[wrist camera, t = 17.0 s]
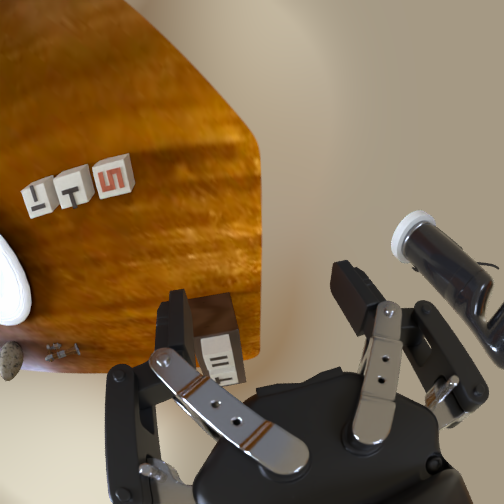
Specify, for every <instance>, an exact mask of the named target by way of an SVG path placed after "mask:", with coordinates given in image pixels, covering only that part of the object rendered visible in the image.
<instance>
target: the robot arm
mask: <svg viewBox="0 0 504 504" xmlns="http://www.w3.org/2000/svg"><path fill="white" fill-rule="evenodd" d="M401 251H402V255H403V256H404V257H405V258H406V259H407V260H408V261H409V262H410V263H411V264H412V265H413V266H414V267H415V268H414V267H412V268H413V269H414V270H415V271H417V272H420V273H421V274H422V275H423V276H424V277H425V278H426V279H427V280H428V281H429V283H430V284H431V285H432V286H433V287H434V288H435V289H436V290H437V291H438V292H439V293H440V294H441V296H442V297H443V298H444V299H445V300H446V301H447V302H448V304H449V305H450V306H451V307H452V308H453V309H454V310H455V312H456V313H457V314H458V315H459V316H460V317H461V318H462V320H463V321H464V322H465V323H466V325H467V326H468V327H469V328H470V330H471V331H472V332H473V334H474V335H475V337H476V338H477V340H478V341H479V343H480V344H481V346H482V347H483V349H484V350H485V352H486V353H487V355H488V356H489V358H490V359H491V361H492V362H493V363H494V364H495V365H496V366H497V367H498V368H499V369H501V370H504V302H503V303H502V305H501V306H500V307H499V309H498V310H497V311H496V313H495V314H494V315H493V316H492V318H491V319H490V320H489V321H488V322H487V321H486V311H487V306H488V303H489V300H490V297H491V294H492V291H493V288H494V280H493V278H492V277H491V276H490V275H489V274H488V273H487V272H486V271H485V270H484V269H483V268H482V267H481V266H480V265H487V266H492V267H495V268H497V269H499V267H497V266H496V265H493V264H488V263H481V262H475V261H474V260H473V259H472V258H471V257H470V256H469V255H468V254H466V253H465V252H464V251H463V249H462V247H460V246H459V245H458V244H457V243H456V242H454V241H453V240H452V239H451V238H450V237H448V236H447V235H446V234H445V233H443V232H442V231H441V230H440V229H439V228H437V227H436V226H435V225H433V224H431V223H430V222H429V221H426V220H423V221H420V222H418V223H416V224H415V225H414V226H413V227H412V228H411V229H410V230H409V231H408V232H407V234H406V236H405V238H404V240H403V243H402V248H401ZM330 289H331V292H332V295H333V296H334V298H335V300H336V301H337V303H338V305H339V306H340V308H341V310H342V311H343V313H344V315H345V316H346V318H347V320H348V321H349V323H350V325H351V327H352V328H353V330H354V332H355V333H356V335H357V337H358V336H361V335H364V334H365V336H366V340H365V343H364V348H363V352H362V356H361V361H360V364H359V368H358V371H357V373H354V372H343V371H342V369H341V367H337V368H334V369H331V370H327V371H324V372H321V373H319V374H317V375H316V376H314V377H312V378H310V379H308V380H306V381H304V382H302V383H288V384H286V383H285V384H274V385H269V386H264V387H260V388H256V392H257V394H255V395H253V396H251V397H250V398H248V399H247V400H245V401H244V402H243V403H242V402H241V401H239V400H238V399H237V398H235V397H234V396H233V395H231V394H230V393H229V392H228V391H226V390H225V389H224V388H222V387H221V386H220V385H219V384H218V383H216V382H215V381H214V380H213V379H212V378H210V377H209V376H207V375H204V376H203V375H201V374H200V373H199V372H198V371H196V363H195V351H194V337H193V321H192V314H191V310H190V306H189V303H188V300H187V296H186V293H185V290H184V289H179V290H173V291H170V294H169V301H167V302H162V303H161V305H160V306H159V308H158V310H157V322H156V325H157V326H156V337H155V351H154V352H153V353H152V354H151V356H150V358H149V360H148V361H147V362H145V363H143V364H141V365H138V366H136V367H133V368H131V367H130V366H129V365H126V364H118V365H115V366H114V367H112V368H111V369H110V370H109V372H108V374H107V380H106V397H105V456H106V472H107V483H108V493H109V498H110V500H111V502H112V503H113V504H473V502H472V500H471V497H470V495H469V492H468V490H467V488H466V485H465V483H464V481H463V478H462V476H461V475H460V473H459V472H458V471H457V470H456V469H455V468H453V467H452V466H451V465H450V464H449V463H448V462H447V461H446V460H445V459H444V458H443V456H442V454H441V451H440V447H439V432H440V431H441V430H443V429H445V428H453V427H455V426H456V425H458V424H459V423H460V422H462V421H463V420H464V419H465V418H467V417H468V416H469V415H470V414H471V413H473V412H474V411H475V410H476V409H477V408H479V407H480V406H481V405H482V404H483V403H484V402H485V401H486V400H487V398H488V396H489V389H488V386H487V384H486V382H485V381H484V379H483V377H482V375H481V374H480V372H479V370H478V369H477V367H476V365H475V364H474V362H473V361H472V359H471V357H470V356H469V354H468V353H467V351H466V350H465V348H464V347H463V345H462V344H461V342H460V341H459V339H458V338H457V336H456V335H455V333H454V332H453V330H452V329H451V328H450V326H449V325H448V323H447V322H446V321H445V319H444V318H443V317H442V315H441V314H440V312H439V311H438V310H437V309H436V307H435V306H434V305H433V304H432V303H431V302H428V301H425V300H421V301H418V302H417V303H416V304H415V306H414V308H400V306H399V305H397V304H396V303H394V302H392V301H386V299H385V298H384V297H383V295H382V294H381V293H380V292H379V290H378V289H377V288H376V286H375V285H374V284H373V283H372V281H371V280H370V279H369V277H368V276H367V275H366V274H365V272H363V271H362V270H360V269H359V268H357V267H355V268H353V266H352V265H351V264H350V262H349V261H348V260H344V261H339V262H334V263H333V267H332V275H331V281H330ZM424 337H425V338H426V339H427V341H428V343H429V344H430V346H431V348H430V347H429V345H428V344H427V342H426V340H425V339H424ZM402 349H403V351H404V352H405V354H406V356H407V358H408V360H409V361H410V363H411V365H412V367H413V369H414V371H415V372H416V374H417V376H418V378H419V380H420V382H421V384H422V386H423V387H424V389H425V392H426V396H425V403H426V404H425V406H423V405H421V404H419V403H417V402H415V401H413V400H411V399H409V398H407V397H405V396H403V395H401V394H399V393H397V392H396V390H397V384H398V378H399V371H400V364H401V356H402ZM171 398H172V399H173V400H174V401H175V402H176V403H177V404H178V405H179V406H180V407H181V408H182V409H183V410H184V411H185V412H186V413H187V414H188V415H189V416H190V417H191V418H192V419H193V420H194V421H195V422H196V423H197V424H198V425H199V426H200V427H201V428H202V429H203V430H204V431H205V432H206V433H207V434H208V435H210V436H211V437H212V438H213V439H214V440H215V441H217V444H216V445H215V447H214V448H213V450H212V452H211V453H210V455H209V456H208V458H207V460H206V461H205V463H204V464H203V466H202V468H201V469H200V471H199V472H198V474H197V475H196V477H195V479H194V482H193V485H186V484H184V483H183V482H182V481H181V480H180V478H179V475H178V473H177V471H176V470H175V469H174V468H173V467H172V466H171V465H169V464H167V463H165V462H164V461H162V460H161V453H160V445H159V437H158V428H157V419H156V407H155V405H156V404H159V403H161V402H164V401H166V400H169V399H171Z"/></svg>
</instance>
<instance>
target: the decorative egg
mask: <svg viewBox="0 0 504 504" xmlns="http://www.w3.org/2000/svg"><path fill="white" fill-rule="evenodd" d="M22 363H23V352H22V349H21V347H20V346H19V345H18V344H17V343H16V342H13V341H10V342H7V343H5V344H4V346H3V347H2V349H1V352H0V374H1V376H2V378H3V379H4V380H6V381H10V380H12V379H13V378H14V377H15V376H16V375H17V373H18V372H19V370H20V368H21V366H22Z"/></svg>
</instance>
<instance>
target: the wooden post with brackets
mask: <svg viewBox="0 0 504 504" xmlns="http://www.w3.org/2000/svg"><path fill="white" fill-rule="evenodd" d="M46 345H47V350H48V356H47V357H46V358H45V360H46V361H49V362H50V361H51V362H53V360H54V359H57V358H59V359H60V357H61V358H62V357H65V356H66V355H70V354H78V355H80V352H79V348H78V346H77V344H75V346H74V347H72V348H70V349H68V350H65V351H64V350H63V351H59V352H57V353H56V354H54V353H53V352H51V349H55V350H56V349H60V347H61V344H58V343H57V344H54V343H53V347H52V348H51V347H50V346H49V344H46ZM50 348H51V349H50ZM51 353H52V354H53V355H52V354H51Z"/></svg>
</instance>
